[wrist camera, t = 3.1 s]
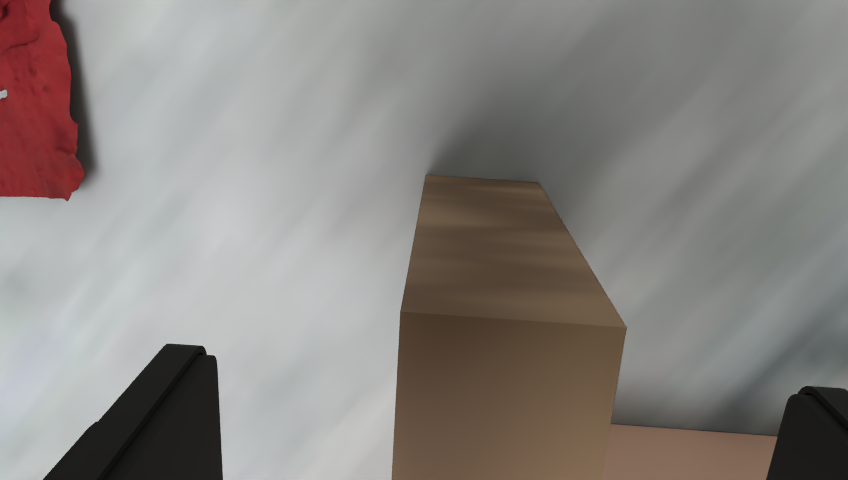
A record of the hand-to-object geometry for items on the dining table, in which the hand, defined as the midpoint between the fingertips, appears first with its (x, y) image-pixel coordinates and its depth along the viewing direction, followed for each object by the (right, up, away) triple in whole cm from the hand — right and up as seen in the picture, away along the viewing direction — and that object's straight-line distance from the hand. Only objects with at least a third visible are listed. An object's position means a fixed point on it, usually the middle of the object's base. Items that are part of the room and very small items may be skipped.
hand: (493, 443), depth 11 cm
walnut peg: (+1, +4, +13) cm, 13 cm away
